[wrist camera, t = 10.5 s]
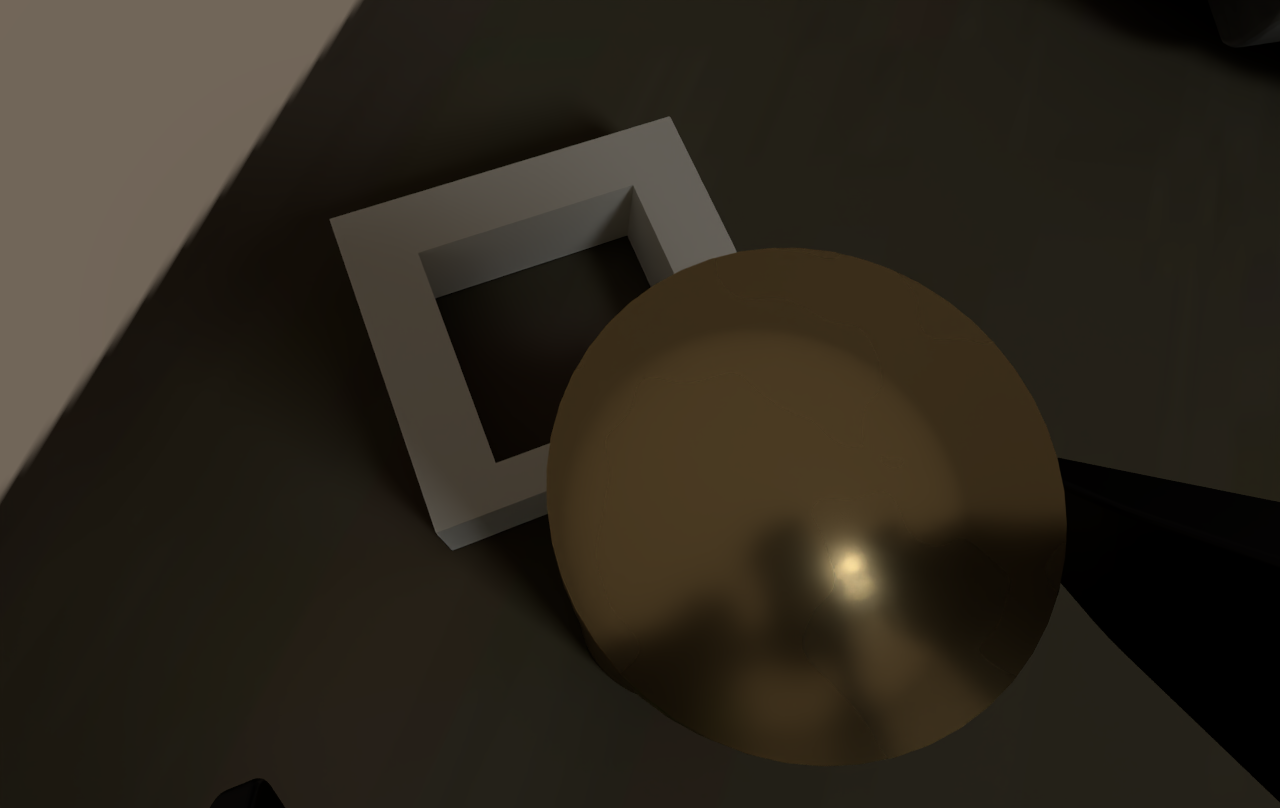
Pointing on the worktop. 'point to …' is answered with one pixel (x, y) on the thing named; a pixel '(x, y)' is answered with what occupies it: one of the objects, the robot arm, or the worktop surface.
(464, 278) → the frame
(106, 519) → the worktop surface
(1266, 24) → the bundt pan
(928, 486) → the gold cylinder
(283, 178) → the worktop surface
